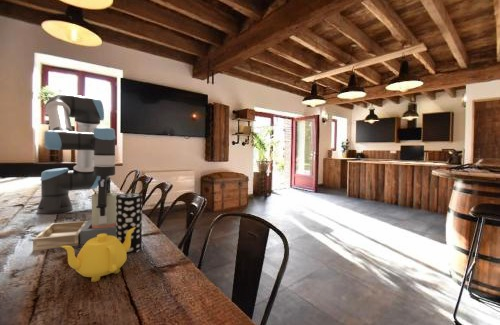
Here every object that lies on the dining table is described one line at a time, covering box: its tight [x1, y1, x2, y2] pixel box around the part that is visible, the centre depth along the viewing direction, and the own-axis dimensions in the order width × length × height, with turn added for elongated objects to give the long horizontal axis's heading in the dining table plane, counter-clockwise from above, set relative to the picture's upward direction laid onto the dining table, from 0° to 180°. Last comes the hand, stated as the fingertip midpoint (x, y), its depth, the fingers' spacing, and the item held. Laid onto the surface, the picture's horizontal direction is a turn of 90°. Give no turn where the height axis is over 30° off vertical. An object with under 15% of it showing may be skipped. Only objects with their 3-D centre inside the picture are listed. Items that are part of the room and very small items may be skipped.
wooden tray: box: [32, 220, 88, 251], centre depth 93 cm, size 18×13×4 cm
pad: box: [92, 223, 116, 229], centre depth 98 cm, size 9×9×2 cm
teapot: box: [60, 227, 136, 283], centre depth 70 cm, size 20×15×12 cm
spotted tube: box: [116, 192, 143, 255], centre depth 85 cm, size 8×8×20 cm
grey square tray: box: [79, 219, 116, 245], centre depth 98 cm, size 14×14×5 cm
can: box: [91, 192, 118, 226], centre depth 98 cm, size 9×9×12 cm
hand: (104, 219), depth 98 cm, fingers closed on can, 9 cm apart
